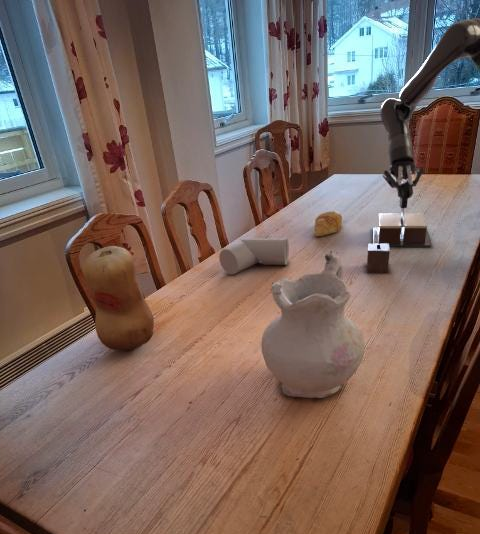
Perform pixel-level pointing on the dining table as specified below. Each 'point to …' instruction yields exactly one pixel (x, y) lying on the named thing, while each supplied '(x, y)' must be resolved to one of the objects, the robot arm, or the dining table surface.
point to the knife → (404, 201)
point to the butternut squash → (118, 299)
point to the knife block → (378, 258)
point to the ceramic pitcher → (313, 334)
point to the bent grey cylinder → (254, 254)
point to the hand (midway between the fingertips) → (405, 197)
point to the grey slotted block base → (411, 230)
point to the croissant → (327, 223)
